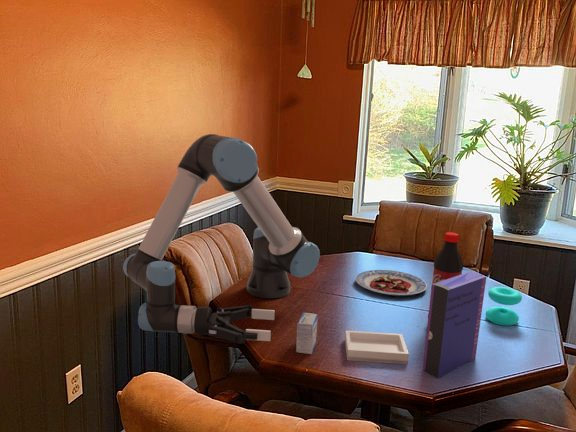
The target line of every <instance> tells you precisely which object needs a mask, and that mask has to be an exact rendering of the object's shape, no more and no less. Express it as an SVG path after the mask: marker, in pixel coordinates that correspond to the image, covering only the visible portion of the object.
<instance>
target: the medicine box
mask: <svg viewBox="0 0 576 432" xmlns="http://www.w3.org/2000/svg"><path fill="white" fill-rule="evenodd" d="M296 325H297V326H296V345H295V349H296V350H295V352H296V353H299V354H306V355H312V354H313V352H314V350H315V346H316V344H317V334H318V333H317V332H318V331H317V330H318V314H317V313H310V312H302V314H301V317H300V318H299V320H298V322H297V323H296Z"/></svg>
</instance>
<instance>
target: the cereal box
mask: <svg viewBox="0 0 576 432" xmlns="http://www.w3.org/2000/svg"><path fill="white" fill-rule="evenodd" d="M486 282H487V276H485V275H484V274H482V273H479V272H474V271H468V272H465V273H462V274H461V275H458V276H455V277H452V278H449V279H446V280H443V281H440V282H437V283H434V284H432V283H431V286H432V287H430V290H431V291H430V296H429V297H430V298H429V308H428V313H429V314H428V313H427V314H428V315H427V325H426V334H425V342H424V344H425V345H424V352H423V361H422V370H421V371H422V372H424V373H426V374H428V375H430V376H432V377H434V378H436V379H439V378H442V377H444V376H445V375H447V374H449V373H451V372H453V371H455V370H458V369H459V368H461V367H463V366H465V365H466V364H469V363H471V362H473V361H474V360H476V356H477V349H478V342H479V336H480V327H481V319H482V313H483V306H484V305H483V304H484V297H485V290H486V284H487V283H486Z"/></svg>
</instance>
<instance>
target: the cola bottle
mask: <svg viewBox="0 0 576 432" xmlns="http://www.w3.org/2000/svg"><path fill="white" fill-rule="evenodd" d="M459 239H460V237H459V234H458V233H456V232H445V234H444V238H443V241H444V244H443V247H442V248H441V249H440V251H439V252H438V253H437V255H436V257H435V259H434V260H433V271H432V272H433V274H432V281H431V287H432V284H434V283H437V282H440V281H443V280H446V279H449V278H452V277H455V276H458V275H461V274H463V269H464V264H463V258H462V257H461V253H460V252H459V249H458V243H459ZM431 287H430V288H431ZM427 314H429V312H428V313H427Z"/></svg>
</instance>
